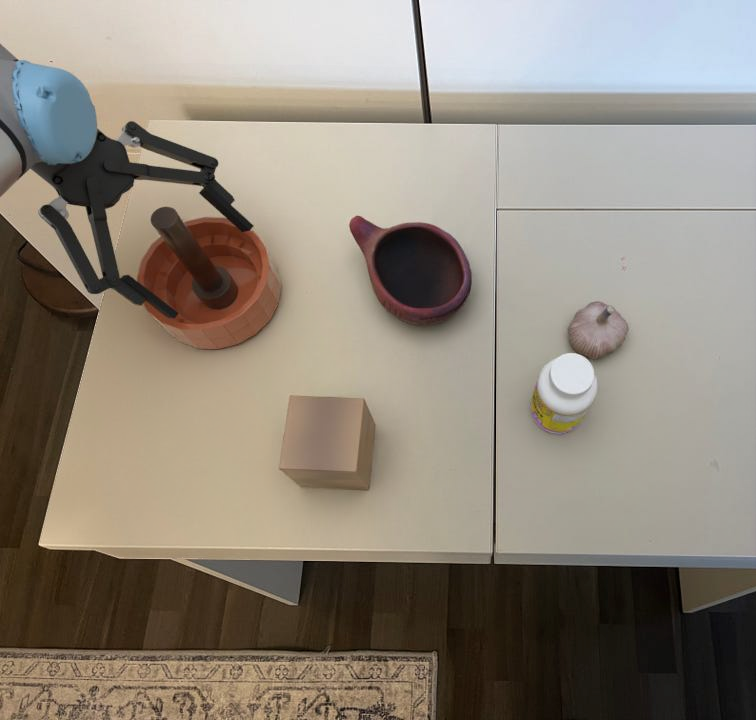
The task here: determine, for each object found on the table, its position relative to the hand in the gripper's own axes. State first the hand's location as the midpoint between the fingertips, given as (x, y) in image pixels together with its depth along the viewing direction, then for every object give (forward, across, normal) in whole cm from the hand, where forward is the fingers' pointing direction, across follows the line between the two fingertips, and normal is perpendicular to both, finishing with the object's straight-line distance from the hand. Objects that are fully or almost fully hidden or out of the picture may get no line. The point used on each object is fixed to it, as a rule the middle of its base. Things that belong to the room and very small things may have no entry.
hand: (212, 271), depth 77 cm
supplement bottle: (+36, -9, +24) cm, 44 cm away
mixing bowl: (+4, 0, -8) cm, 9 cm away
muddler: (+4, 0, -7) cm, 8 cm away
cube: (+22, +10, +10) cm, 26 cm away
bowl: (+19, -14, +7) cm, 24 cm away
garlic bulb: (+36, -20, +24) cm, 48 cm away
